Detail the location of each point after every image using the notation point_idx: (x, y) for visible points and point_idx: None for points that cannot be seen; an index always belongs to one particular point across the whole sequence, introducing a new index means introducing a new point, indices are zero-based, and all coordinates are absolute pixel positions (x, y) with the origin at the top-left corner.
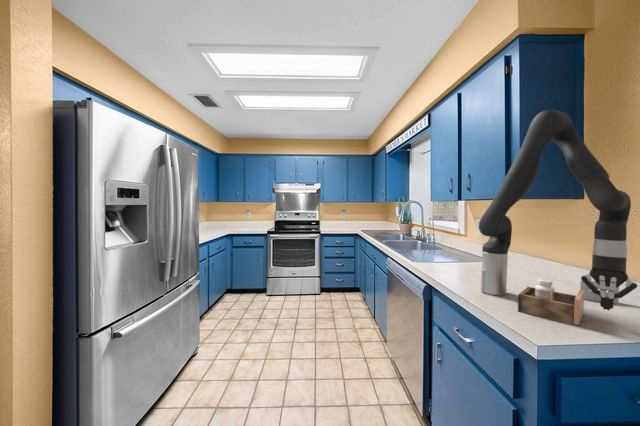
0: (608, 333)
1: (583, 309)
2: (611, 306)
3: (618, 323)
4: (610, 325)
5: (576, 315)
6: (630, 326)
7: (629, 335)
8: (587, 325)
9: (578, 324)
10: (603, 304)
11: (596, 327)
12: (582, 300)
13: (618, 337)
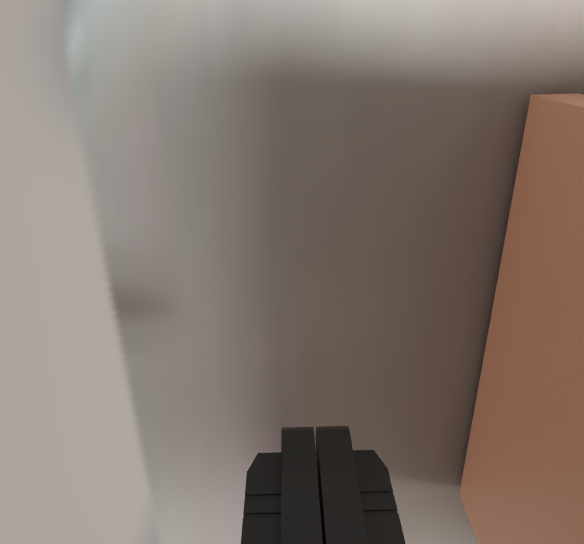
0: (272, 103)
1: (478, 509)
2: (265, 480)
3: (236, 456)
4: (277, 365)
5: None
6: (164, 450)
7: (128, 209)
8: (441, 204)
9: (535, 96)
10: (356, 473)
11: (370, 210)
12: (575, 526)
13: (186, 45)
